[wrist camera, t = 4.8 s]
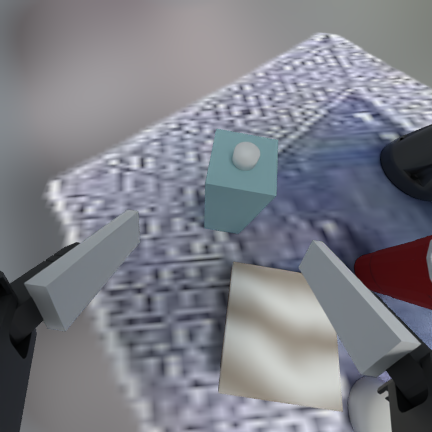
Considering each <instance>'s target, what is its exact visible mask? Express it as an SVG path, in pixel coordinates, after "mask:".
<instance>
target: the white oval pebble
mask: <svg viewBox="0 0 432 432" xmlns="http://www.w3.org/2000/svg"><path fill="white" fill-rule="evenodd" d="M385 383H386V382H384V381H383V380H381V379H379V378H376V377H372V376H367V377H363V378H361V379H359V380H358V381H357V382H356V383H355V384H354V385H353V387H352V389H351V391H350V395H349V400H348V411H349V417H350V422H351V425H352V428H353V430H354V432H392V430H391V418H390V407H389V401H387V400H386V399H385V397H387V396H388V391H385V392H384V393H382V394H381V395H380V394H379V393H377V390H378V388H379V387H380V386H382V385H383V384H385Z"/></svg>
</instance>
